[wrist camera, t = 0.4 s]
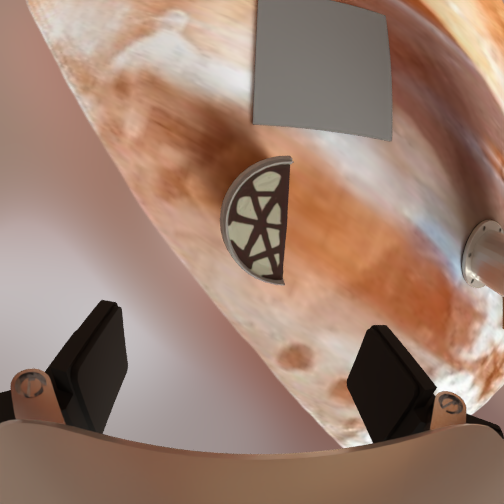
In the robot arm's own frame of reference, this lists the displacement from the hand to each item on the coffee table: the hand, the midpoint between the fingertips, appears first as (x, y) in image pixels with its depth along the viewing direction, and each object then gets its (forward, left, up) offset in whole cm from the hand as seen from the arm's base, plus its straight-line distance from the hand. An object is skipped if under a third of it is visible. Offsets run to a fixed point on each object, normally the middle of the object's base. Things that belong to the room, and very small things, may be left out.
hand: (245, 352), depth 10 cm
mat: (-10, -21, -26) cm, 35 cm away
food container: (-1, -1, -26) cm, 26 cm away
